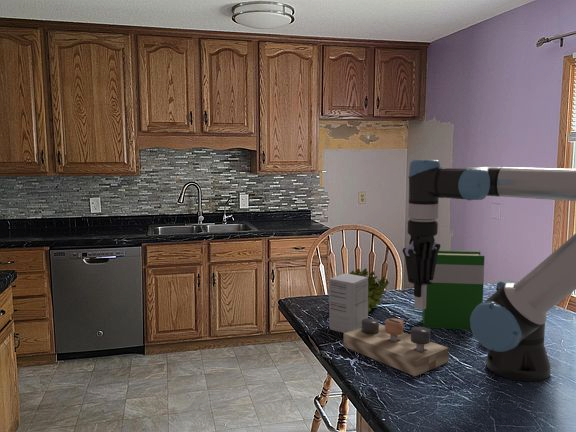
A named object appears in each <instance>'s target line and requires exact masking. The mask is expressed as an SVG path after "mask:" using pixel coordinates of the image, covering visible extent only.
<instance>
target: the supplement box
mask: <svg viewBox="0 0 576 432" xmlns="http://www.w3.org/2000/svg"><path fill="white" fill-rule="evenodd" d="M368 277H369V276H368ZM368 277H364V276H358V275H352V274H349V273H347V272H346V273H341V274H340V275H337V276H334V277H331V278H329V280H328V284H329V285H328V291H329V293H328V295H329V296H328V297H329V299H328V300H329V301H328V302H329V303H328V305H329V306H328V308H329V309H328V310H329V311H328V313H329V314H328V315H329V321H328V322H329V324H328V325H329V330H331V331H334V332H335V331H336V332H339V333H343V334H344V333H346V332H349V331H352V330H356V329H359V328H362V320H363V319H369V312H368Z"/></svg>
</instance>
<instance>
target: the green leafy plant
mask: <svg viewBox="0 0 576 432" xmlns="http://www.w3.org/2000/svg"><path fill="white" fill-rule="evenodd" d="M348 274H352V275H358V276H364V277H368V313H369V312H371V311H372V309H375V308H378V305H379V304H381V300H382V299H383V298H384V296H383V294H385V289H386V288H387V286H388V285H389V284H390V282H389V281H388V279H387V278H386V277H385V275H383V276H382V279H380V278H378V275H376V273H375V271H374V270H372V271H370V273H369V271H368V269H367V267H366V268H364V269H363V270H361V268H357V269H356V270H354V269H353V270H351V272H349V273H348ZM385 278H386V279H385ZM376 279H377V281H376Z"/></svg>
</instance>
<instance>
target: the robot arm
mask: <svg viewBox="0 0 576 432" xmlns="http://www.w3.org/2000/svg"><path fill="white" fill-rule="evenodd" d="M408 170H409V172H408V208H407V209H408V211H407V212H408V213H407V217H408V218H409V219H408V220H407V234H408V235H409V236H410V239H409V245H408V246H407V247H403V248H402V253H403V255H404V256H403V257H404V259H405V266H406V275H407V281H408V283H410V284H413V295H414V299H413V300H414V301H413V302H414V303H413V307H414V308H415V309H419V310H421V311H423V310H424V309H426V296H427V284H431V282H430V280H433V277H434V272H435V266H436V261H437V255H438V251H439V250H440V248H441V244H440V243H437V242H435V241H436V239H435V236H437V235H438V231H439V230H438V229H439V225H438V224H439V222H438V221H437V220H438V219H439V199H440V198H441V199H454V200H466V201H481V200H484V199H485V198H486V197H504V198H516V199H517V198H518V199H519V198H521V199H532V200H533V199H536V200H537V199H538V200H547V201H549V200H551V201H566V202H569V201H570V202H576V168H551V167H549V168H548V167H547V168H546V167H515V166H514V167H510V166H509V167H507V166H503V167H501V166H491V165H482V166H477V167H476V166H475V167H462V168H460V167H454V168H453V167H449V168H448V167H441V162H440V161H439V160H438V159H414V160H412V161H410V164H409V169H408ZM575 291H576V233H574V234H572V236H571V237H570V238H568V239H567V240H565V242H563V244H561V245H560V246H559V247H557V248H556V249H555V250H554V251H553V252H552V253H551V254H549V256H547V257H546V258H545V259H543V261H541V262H540V263H539V264H538V265H537V266H535V267H534V268H533V269H532V270H531V271H530V272H528V273H527V274H526V275H525V276H524V277H523V278H521V279H520V280H508V279H507V280H505V279H504V280H498V282H497V285H496V287H495V292H494V293H493V294H492V295H491V296H489V297H488V298H487V299H485V301H483V303H480V304H478V305H477V306H476V308H475V309H474V310H473V312H472V314H471V317H470V325H471V326H470V327H471V330H470V331H471V333H472V334H473V337H474V338H475V339H476V340H477V342H479V344H481V346H483V347H484V348H486V349H488V352H487V356H486V364H485V365H486V367H487V369H488V370H489V371H490V372H492V373H494V374H495V375H497V376H501V377H503V378H506V379H509V380H514V381H519V382H540V381H544V380H546V379H548V378H549V377H550V376H551V362H550V359H549V357H548V352H547V350H546V345H545V331H546V322H547V312H549V311H550V310H551V309H552V308H554V307H555V306H557V305H558V304H559V303H561V301H563V300H564V299H565V298H567V297H568V296H570V295H571V294H572V293H573V292H575Z"/></svg>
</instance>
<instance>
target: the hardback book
mask: <svg viewBox="0 0 576 432" xmlns="http://www.w3.org/2000/svg"><path fill="white" fill-rule="evenodd" d="M485 257H486V256H485V255H483V254H482V255H481V251H478V250H476V251H475V250H474V251H473V250H470V251H469V250H440V249H439V251H438V255H437V261H436V266H435V272H434V277H433V280H430V282H431V284H427V296H426V309H424V310H422V320H421V321H422V324H423V327H425V328H428V329H445V330H446V329H447V330H463V331H464V330H466V331H467V330H469V331H472V330H471V327H470V326H471V325H470V317H471V314H472V312H473V310H474V309H475V308H476V306H477V305H478V304H480V303H483V302H484V281H485V279H484V277H485Z"/></svg>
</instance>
